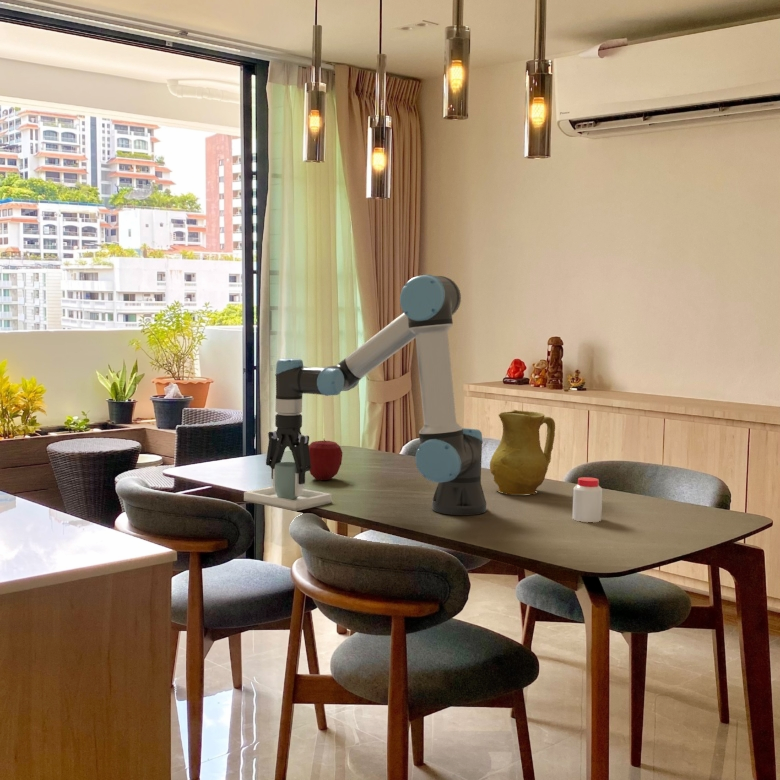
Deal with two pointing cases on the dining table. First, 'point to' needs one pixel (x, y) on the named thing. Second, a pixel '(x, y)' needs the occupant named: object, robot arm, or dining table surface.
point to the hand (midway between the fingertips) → (287, 493)
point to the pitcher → (522, 452)
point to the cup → (285, 480)
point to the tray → (300, 503)
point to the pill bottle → (587, 500)
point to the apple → (324, 459)
